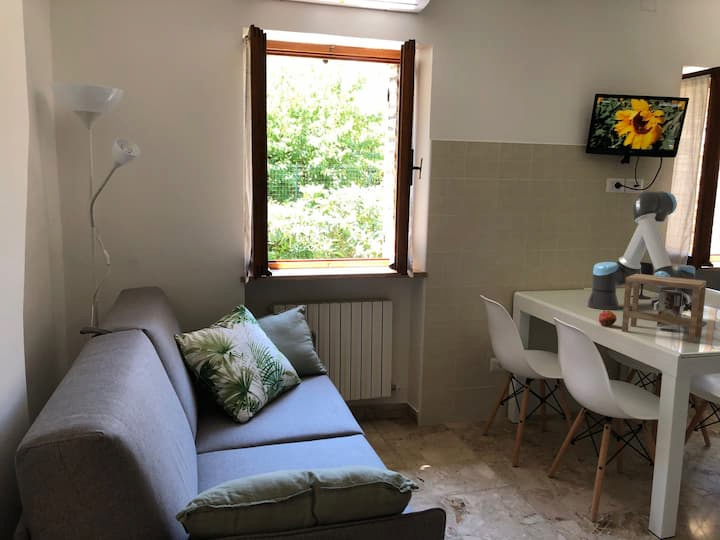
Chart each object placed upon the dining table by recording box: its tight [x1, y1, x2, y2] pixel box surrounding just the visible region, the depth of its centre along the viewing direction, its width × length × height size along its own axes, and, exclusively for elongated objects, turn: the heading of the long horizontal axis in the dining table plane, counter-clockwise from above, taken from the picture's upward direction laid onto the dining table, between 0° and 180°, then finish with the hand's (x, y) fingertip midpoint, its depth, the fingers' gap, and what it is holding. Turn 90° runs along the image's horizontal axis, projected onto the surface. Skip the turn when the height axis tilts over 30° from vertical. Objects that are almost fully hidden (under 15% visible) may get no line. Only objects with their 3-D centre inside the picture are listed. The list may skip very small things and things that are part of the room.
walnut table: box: [621, 274, 708, 344], centre depth 248 cm, size 15×28×24 cm, turn 49°
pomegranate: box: [598, 310, 617, 328], centre depth 262 cm, size 7×7×10 cm
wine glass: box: [631, 261, 654, 300], centre depth 330 cm, size 10×10×20 cm
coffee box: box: [656, 289, 683, 330], centre depth 255 cm, size 9×6×16 cm
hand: (667, 308), depth 252 cm, fingers closed on coffee box, 10 cm apart
